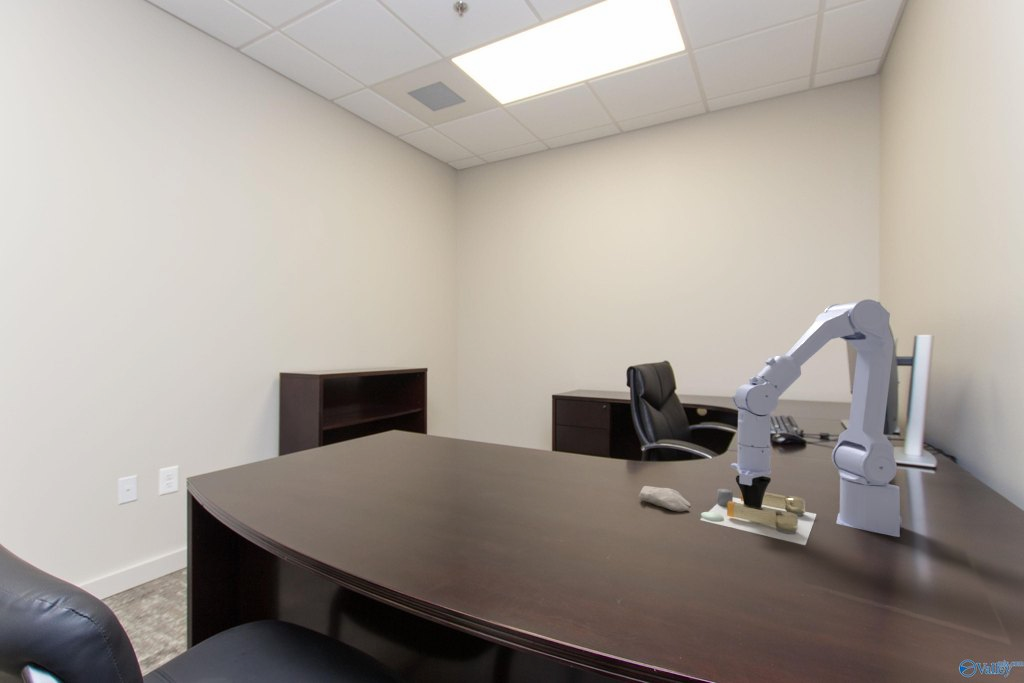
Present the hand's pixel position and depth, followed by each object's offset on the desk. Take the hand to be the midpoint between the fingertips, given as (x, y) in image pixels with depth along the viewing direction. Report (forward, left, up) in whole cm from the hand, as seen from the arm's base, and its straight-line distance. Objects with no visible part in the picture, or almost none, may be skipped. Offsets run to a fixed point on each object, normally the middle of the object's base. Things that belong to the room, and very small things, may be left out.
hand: (752, 513), depth 90 cm
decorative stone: (+17, +1, -2) cm, 18 cm away
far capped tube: (-2, -10, 0) cm, 10 cm away
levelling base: (-1, -3, -2) cm, 3 cm away
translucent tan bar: (-2, +2, 0) cm, 3 cm away
